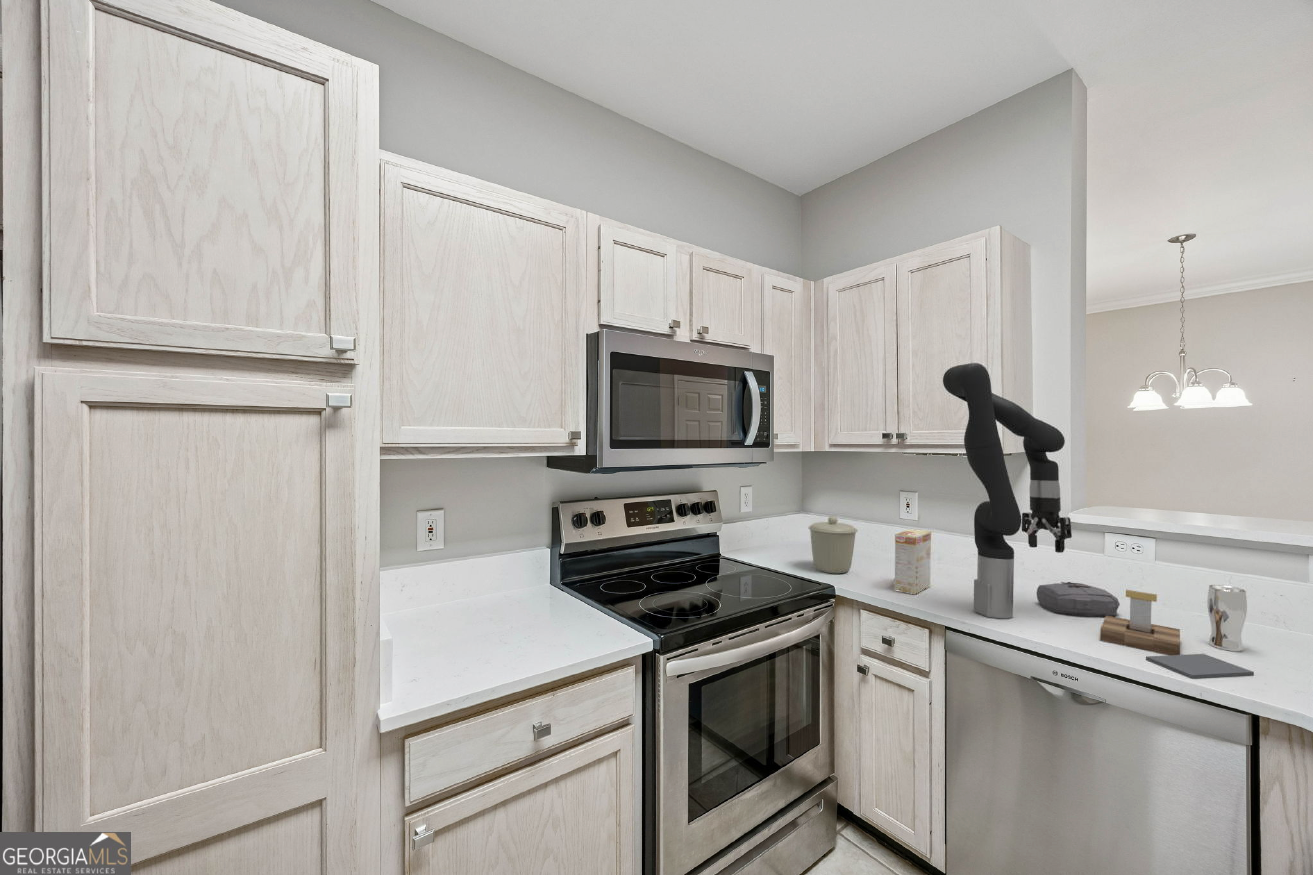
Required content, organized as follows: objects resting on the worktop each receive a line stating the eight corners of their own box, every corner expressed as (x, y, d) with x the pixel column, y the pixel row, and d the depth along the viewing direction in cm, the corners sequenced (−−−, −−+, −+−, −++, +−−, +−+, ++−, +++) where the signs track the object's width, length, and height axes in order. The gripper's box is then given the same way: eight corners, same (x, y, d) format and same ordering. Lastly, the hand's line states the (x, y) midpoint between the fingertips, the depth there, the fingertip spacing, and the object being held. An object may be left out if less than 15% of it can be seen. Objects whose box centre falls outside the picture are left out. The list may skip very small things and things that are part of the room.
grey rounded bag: (1058, 617, 161) (1132, 621, 158) (1058, 588, 161) (1133, 592, 158) (1030, 601, 176) (1098, 604, 173) (1030, 575, 176) (1098, 578, 173)
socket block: (1179, 657, 132) (1180, 644, 132) (1100, 640, 142) (1100, 628, 142) (1179, 640, 143) (1179, 629, 143) (1105, 626, 153) (1105, 615, 153)
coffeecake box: (910, 582, 196) (911, 528, 196) (931, 586, 191) (932, 531, 191) (893, 590, 185) (894, 533, 185) (915, 595, 180) (916, 536, 180)
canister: (798, 569, 213) (799, 515, 213) (824, 562, 225) (825, 511, 224) (840, 579, 199) (841, 521, 199) (865, 571, 211) (866, 517, 211)
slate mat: (1192, 678, 120) (1192, 674, 120) (1145, 659, 130) (1145, 656, 130) (1253, 675, 123) (1253, 671, 123) (1203, 657, 132) (1203, 653, 132)
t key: (1155, 641, 142) (1156, 593, 142) (1155, 645, 139) (1156, 596, 139) (1125, 635, 146) (1126, 588, 146) (1124, 639, 143) (1125, 591, 143)
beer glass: (1198, 641, 142) (1199, 584, 142) (1222, 641, 143) (1224, 584, 143) (1228, 652, 135) (1230, 592, 135) (1254, 652, 136) (1255, 592, 136)
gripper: (1013, 493, 170) (1015, 546, 169) (1056, 497, 156) (1058, 554, 155) (1033, 493, 171) (1035, 545, 171) (1077, 497, 157) (1079, 553, 157)
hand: (1046, 549), depth 163 cm, fingers open, 8 cm apart
